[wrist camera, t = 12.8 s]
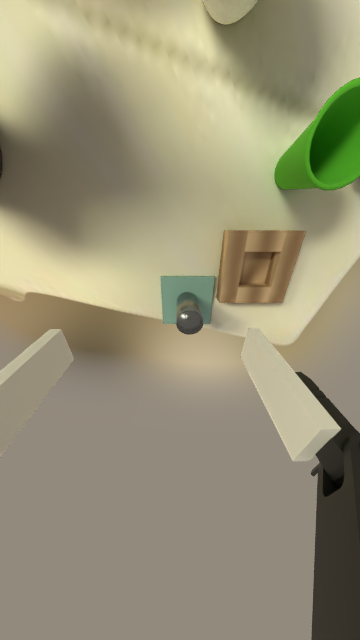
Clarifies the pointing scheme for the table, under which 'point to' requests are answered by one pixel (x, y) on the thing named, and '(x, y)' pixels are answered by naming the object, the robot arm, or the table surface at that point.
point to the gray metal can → (188, 314)
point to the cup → (326, 146)
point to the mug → (228, 9)
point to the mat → (181, 284)
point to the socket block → (257, 265)
